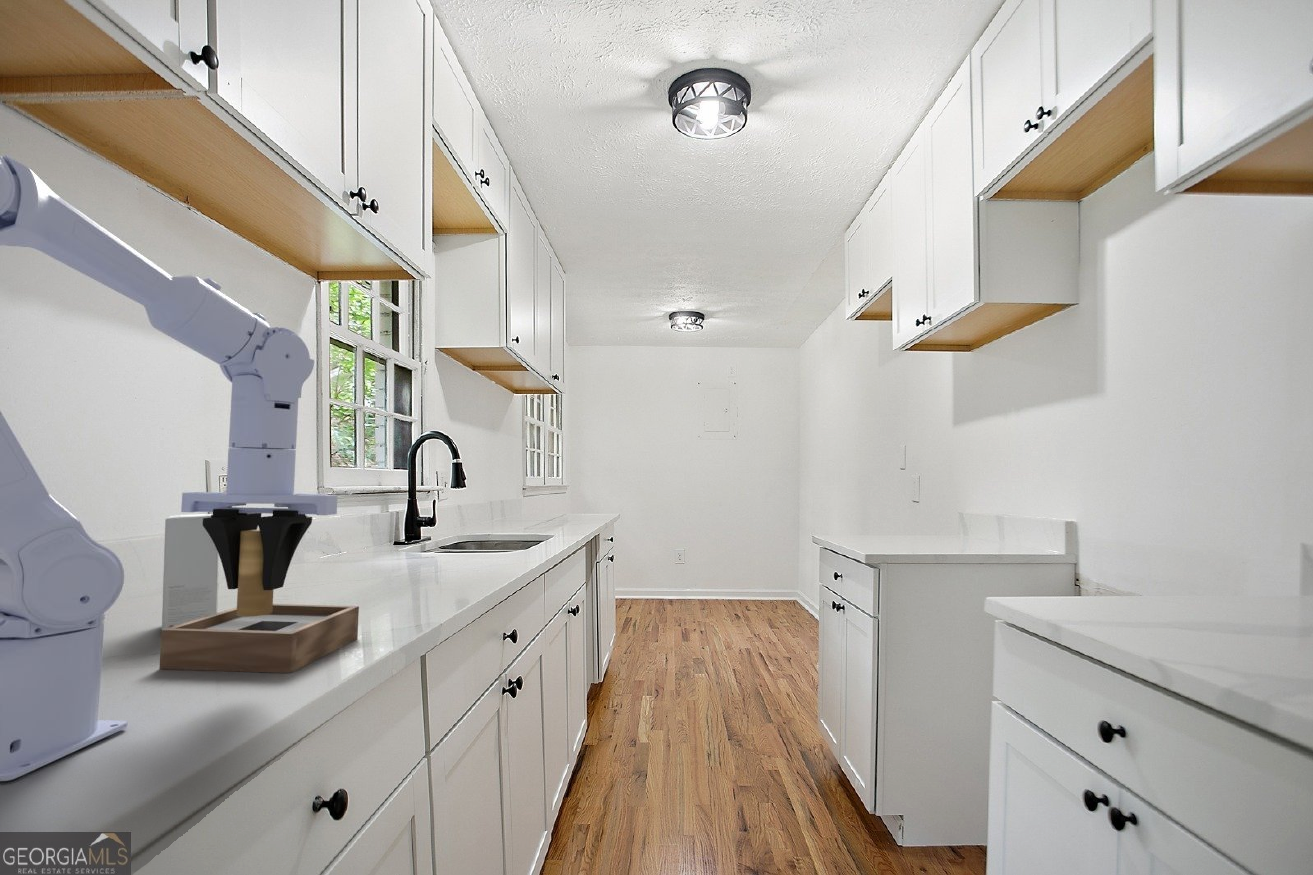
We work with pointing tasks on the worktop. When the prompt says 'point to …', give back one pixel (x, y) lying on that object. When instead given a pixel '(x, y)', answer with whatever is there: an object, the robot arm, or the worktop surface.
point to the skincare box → (189, 571)
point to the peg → (252, 577)
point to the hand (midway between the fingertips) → (255, 588)
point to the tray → (259, 639)
